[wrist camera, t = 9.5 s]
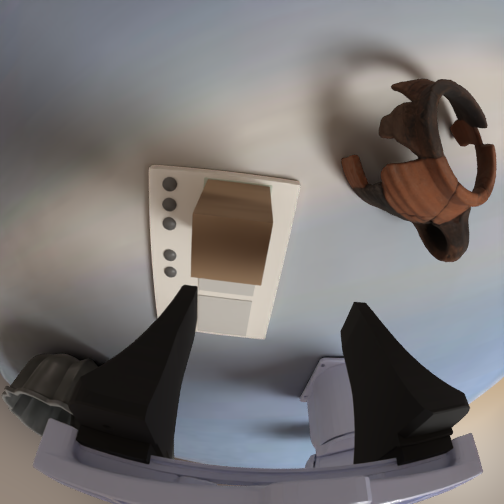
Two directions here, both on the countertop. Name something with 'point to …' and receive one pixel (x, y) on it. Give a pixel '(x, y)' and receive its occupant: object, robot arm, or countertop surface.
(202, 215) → the walnut block
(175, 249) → the board
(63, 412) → the bundt pan
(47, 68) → the countertop surface
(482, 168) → the pottery mug
